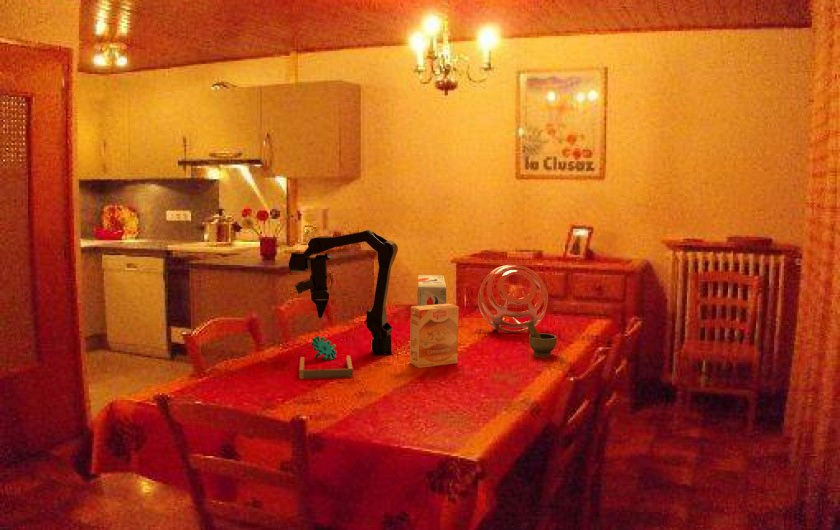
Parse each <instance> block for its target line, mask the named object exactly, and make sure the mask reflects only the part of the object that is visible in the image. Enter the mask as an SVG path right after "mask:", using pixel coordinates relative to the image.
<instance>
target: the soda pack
mask: <svg viewBox="0 0 840 530" xmlns="http://www.w3.org/2000/svg"><path fill="white" fill-rule="evenodd" d="M437 304H447V284H446V279H445V276H444V274H418V275H417V306H424V305H437Z"/></svg>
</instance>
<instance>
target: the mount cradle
mask: <svg viewBox="0 0 840 530" xmlns="http://www.w3.org/2000/svg"><path fill="white" fill-rule="evenodd" d="M299 359H300V360H299V370H298V373H299V380H303V379H304V380H305V379H307V380H309V379H310V380H311V379H341V378H342V379H345V378H346V379H347V378H353V377H354V371H353V370H354V368H353V364H352V358H351V355H346V367H347V368H331V369H330V368H326V369H324V368H322V369H305V357H304V356H300V358H299Z"/></svg>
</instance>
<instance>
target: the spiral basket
mask: <svg viewBox="0 0 840 530" xmlns="http://www.w3.org/2000/svg"><path fill="white" fill-rule="evenodd" d="M522 269H523V270H522ZM501 274H502V275H501ZM499 275H500V277H499V279H498V280H497V281H498V282H497V291H498V294H499V295H500V297H501V298H502V299H503V301H504V302H503V304H499V303H498V301H497V300H496V298H495V297H494V294H493V291H492V290H493V289H492V288H493V282H494V279H495V277H496V276H499ZM512 275H521V276H522V277H524V278H526V279H527V280H528V281H529V284H530V290H529V292H528V294H527V293H525V291H524V290H521V293H522V296H523V297H520V298H518V297H514V296H513V295H514V294H515V293H514V292H515V290H512V292H511V293H510V294H508V293H507V291H506V289H505V285H504V284H505V282H506V279H508V278H509V276H512ZM486 284H487V285H486ZM485 285H486V295H487V299H488V301H489V303H490V305H491V306H492V308H494V309H495V310H496V312H497V313H496V314H494V313H493V312H492V311H491V310H490V309H489V307H488V306H487V304H486V302H485V298H484V297H485V296H484V289H485ZM479 287H480V288H479V290H478V292H477V293H478V294H477V303H478V305H477V306H478V308H479V312H480V314H481V315H482V318H483V319H484V320H485V321H486V322H487V324H489V325H490V326H491V328H492V329H494V330H496V331H501V332H503V333H508V334H520V333H524V332H528V331H529V329H528V327H527V326H526V323H527V322H529V321H533V324H534V326H535V327H536V326H537V325H539V324H540V322H541V321H542V320H543V318H544V316H545V315H546V312H547V307H548V301H549V294H548V289H547V286H546V284H545V282H544V281H543V279H542V278H541V277H540V275H538V273H536V272H535V271H534V270H532V269H530V268H528V267H526V266H523V265H521V264H506V265H502V266H499V267H496V268H495V269H493V270H491V271H490V272H489V273H488V274H487V275H486V276H485V278H484V279H483V281H482V283H481V285H480V286H479ZM537 287H538V289H539V290H540V293H539V294H540V295H539V298H538V301H537V302H536V303H535V304H534V305H533V303H532V300H533V299H534V298H535V296H536V294H537V293H536V292H537ZM510 304H511V305H514V306H515V305H516V306H522V305H527V307H528V309H527V310H524V311H513V310H509V309H508V306H509V305H510ZM542 304H543V308H542V309H541V311H540V312H539V313H538V314H537V312H538V311H539V310H540V308H541V306H542ZM484 312H485V313H486V314H485V313H484ZM487 316H488V317H489V318H488V317H487ZM505 316H506V317H509V318H512V321H514V322H509V321H505V319H506V317H505ZM525 317H530V319H529V320H528V321H524V322H521V321H519V320H518V319H521V318H525ZM490 319H491V320H490ZM501 326H504V327H506V328H504V327H501ZM507 328H513V329H507ZM517 328H518V329H517ZM519 328H522V329H519Z"/></svg>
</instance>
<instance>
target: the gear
mask: <svg viewBox="0 0 840 530" xmlns="http://www.w3.org/2000/svg"><path fill="white" fill-rule="evenodd" d="M325 340H326V337H324V336H322V337H321V336H320V335H316V336H315V337H313V338H312V342H311V346H313V351H314V352H317V353H316V354H315V355H314V358H316V359H317V358H318V357H321V356H322V355H324V356H323V357H322V359H323V360H325V361H326V360H329V361H333V360H334V359H335V358H337V355H336V354H337V352H338V351H337V350H335V348H336V347H337V345H336V344H335V343H334V344H332V342H331V341H330V340H329V339H327V341H325ZM331 344H332V345H331Z"/></svg>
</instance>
